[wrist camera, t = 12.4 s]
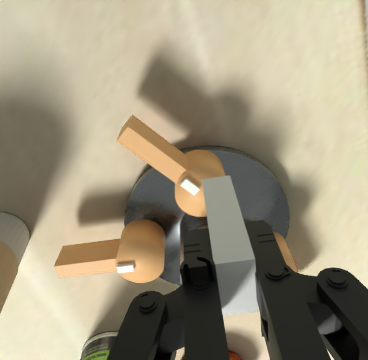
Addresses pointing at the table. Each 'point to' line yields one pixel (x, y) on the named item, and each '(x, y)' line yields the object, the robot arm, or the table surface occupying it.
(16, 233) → the coffee cup
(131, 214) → the base
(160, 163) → the knob
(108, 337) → the coffee can
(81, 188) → the table surface
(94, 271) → the knob
